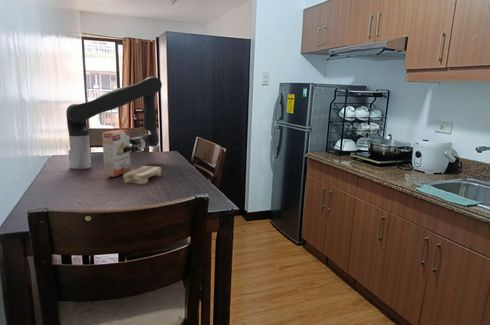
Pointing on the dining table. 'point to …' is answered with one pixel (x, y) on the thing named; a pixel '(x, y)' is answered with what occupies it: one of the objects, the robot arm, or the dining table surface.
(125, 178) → the birch stand
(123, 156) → the cracker box
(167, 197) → the dining table surface
